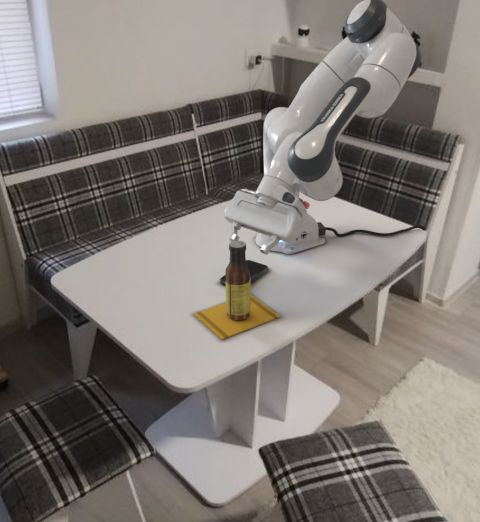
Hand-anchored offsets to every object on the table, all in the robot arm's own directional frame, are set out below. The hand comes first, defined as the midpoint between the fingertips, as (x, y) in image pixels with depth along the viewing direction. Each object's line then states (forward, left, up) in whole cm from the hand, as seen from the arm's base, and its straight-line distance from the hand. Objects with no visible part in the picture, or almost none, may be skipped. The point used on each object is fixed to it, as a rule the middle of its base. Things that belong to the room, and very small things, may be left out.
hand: (247, 247), depth 127 cm
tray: (+4, +3, -18) cm, 18 cm away
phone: (-6, -15, -18) cm, 24 cm away
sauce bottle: (+4, +3, -17) cm, 18 cm away
